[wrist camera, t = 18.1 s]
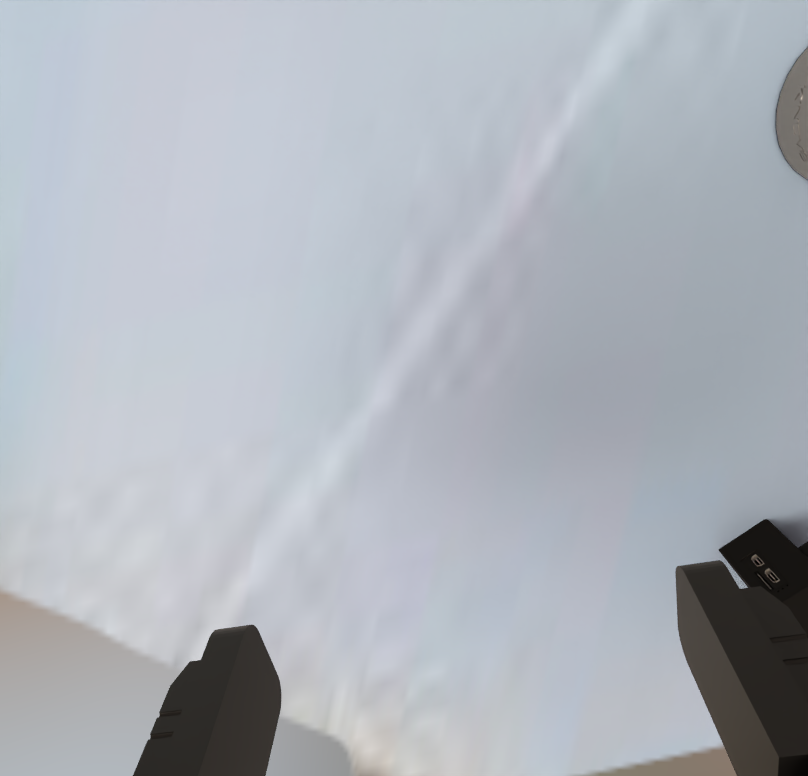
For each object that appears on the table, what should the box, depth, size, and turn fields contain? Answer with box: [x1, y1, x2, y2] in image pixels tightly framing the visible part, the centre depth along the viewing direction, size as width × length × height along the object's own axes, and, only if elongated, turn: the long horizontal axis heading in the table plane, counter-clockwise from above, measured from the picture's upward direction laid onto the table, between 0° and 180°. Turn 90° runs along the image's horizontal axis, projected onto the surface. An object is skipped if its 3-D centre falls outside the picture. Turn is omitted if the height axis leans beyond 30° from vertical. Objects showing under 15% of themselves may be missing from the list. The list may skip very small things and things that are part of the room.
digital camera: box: [719, 519, 808, 638], centre depth 47 cm, size 10×5×7 cm, turn 40°
